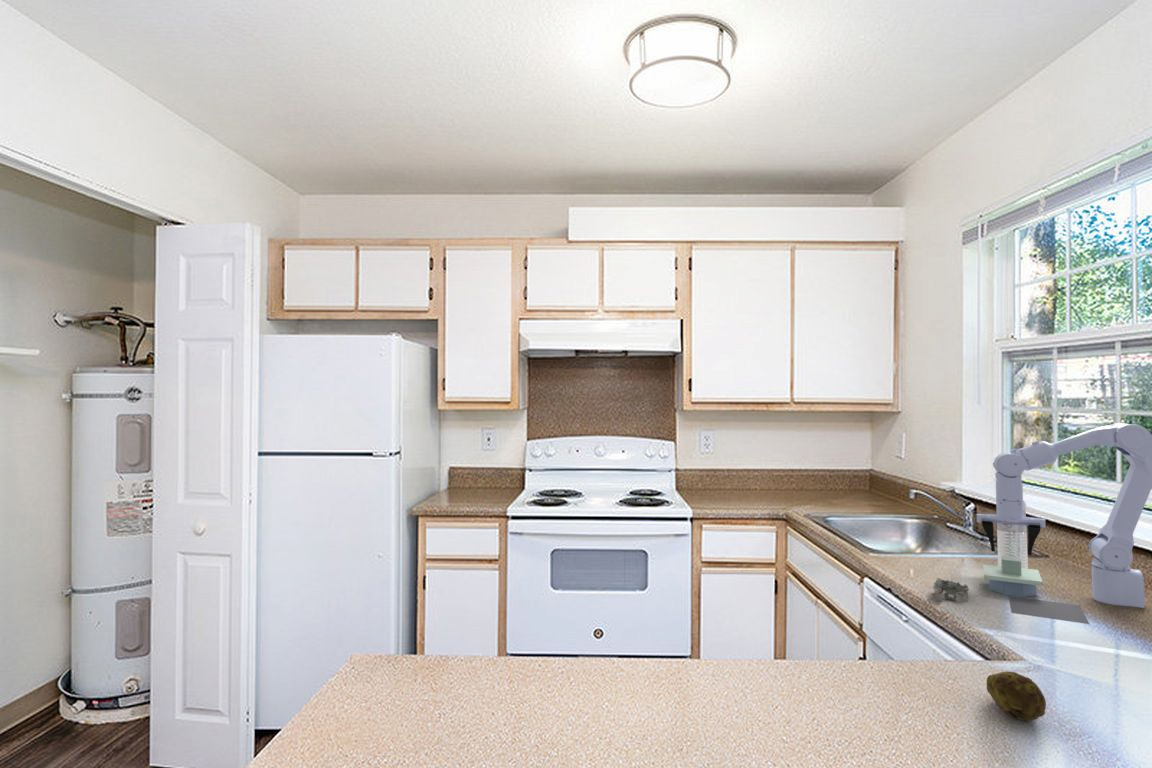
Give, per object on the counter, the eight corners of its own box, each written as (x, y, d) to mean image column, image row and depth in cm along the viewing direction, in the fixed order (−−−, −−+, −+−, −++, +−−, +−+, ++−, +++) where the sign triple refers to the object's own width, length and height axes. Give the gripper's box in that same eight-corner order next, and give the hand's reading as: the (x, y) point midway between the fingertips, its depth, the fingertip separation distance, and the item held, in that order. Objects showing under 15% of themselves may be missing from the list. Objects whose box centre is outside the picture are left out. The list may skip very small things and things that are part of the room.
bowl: (1033, 591, 161) (1033, 574, 162) (1037, 602, 153) (1036, 583, 153) (988, 585, 167) (988, 568, 167) (989, 595, 158) (989, 578, 158)
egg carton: (966, 607, 150) (965, 590, 150) (931, 602, 155) (930, 585, 155) (971, 596, 159) (970, 580, 159) (937, 590, 163) (937, 575, 163)
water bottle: (1033, 581, 169) (1030, 489, 169) (1005, 580, 170) (1002, 489, 171) (1020, 574, 176) (1018, 486, 176) (993, 573, 177) (991, 485, 177)
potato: (1049, 709, 101) (1048, 660, 102) (1045, 744, 92) (1043, 690, 92) (989, 694, 107) (987, 648, 107) (978, 726, 97) (977, 674, 97)
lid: (1038, 573, 162) (1037, 556, 162) (1042, 585, 152) (1042, 567, 152) (983, 567, 168) (982, 550, 168) (984, 578, 158) (983, 561, 158)
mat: (1080, 608, 148) (1079, 605, 148) (1089, 627, 136) (1089, 623, 136) (1008, 598, 155) (1008, 595, 155) (1011, 616, 144) (1011, 612, 144)
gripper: (976, 499, 161) (977, 552, 161) (1046, 504, 153) (1047, 559, 153) (976, 495, 167) (977, 546, 167) (1043, 500, 159) (1044, 553, 159)
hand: (1011, 552), depth 160 cm, fingers open, 7 cm apart
